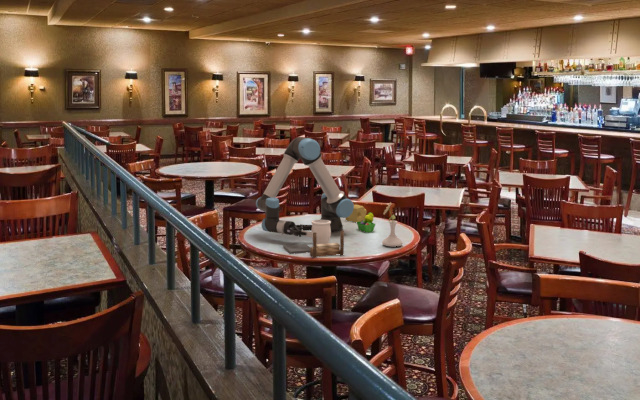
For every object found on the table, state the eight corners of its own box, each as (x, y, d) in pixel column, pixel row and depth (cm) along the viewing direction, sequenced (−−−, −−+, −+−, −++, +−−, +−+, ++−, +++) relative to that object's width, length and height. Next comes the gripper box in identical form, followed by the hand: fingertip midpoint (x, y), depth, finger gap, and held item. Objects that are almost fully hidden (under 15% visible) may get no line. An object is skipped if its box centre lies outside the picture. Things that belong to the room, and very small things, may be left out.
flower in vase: (389, 242, 366) (390, 199, 361) (406, 245, 358) (407, 201, 354) (376, 246, 356) (377, 202, 351) (393, 249, 348) (394, 204, 344)
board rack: (339, 252, 342) (339, 228, 340) (344, 255, 336) (344, 231, 334) (309, 254, 337) (309, 230, 335) (313, 257, 330) (313, 233, 328)
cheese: (367, 221, 425) (367, 206, 423) (356, 223, 417) (356, 208, 415) (355, 218, 432) (355, 204, 430) (344, 221, 424) (344, 206, 422)
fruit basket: (355, 229, 398) (356, 211, 396) (367, 228, 402) (368, 210, 400) (365, 233, 388) (365, 215, 386) (377, 232, 392) (378, 213, 390)
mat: (305, 246, 355) (305, 243, 355) (313, 252, 342) (313, 249, 342) (283, 247, 351) (283, 245, 351) (290, 253, 338) (290, 251, 338)
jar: (333, 246, 354) (333, 220, 352) (327, 251, 345) (327, 223, 342) (314, 245, 358) (315, 218, 355) (308, 249, 348) (308, 222, 345)
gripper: (298, 230, 372) (330, 234, 361) (273, 238, 351) (306, 243, 340) (298, 217, 370) (330, 221, 359) (273, 224, 349) (306, 229, 338)
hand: (318, 232), depth 349 cm, fingers open, 13 cm apart
